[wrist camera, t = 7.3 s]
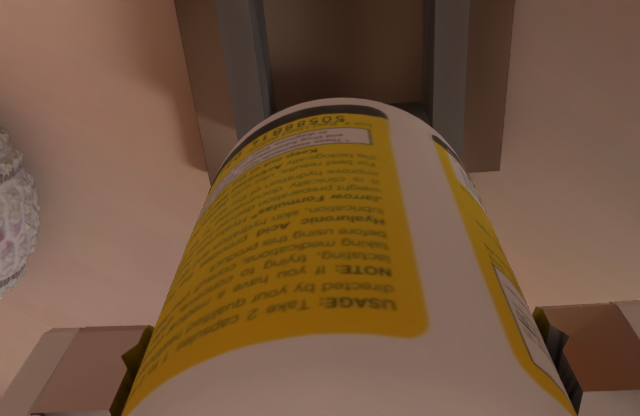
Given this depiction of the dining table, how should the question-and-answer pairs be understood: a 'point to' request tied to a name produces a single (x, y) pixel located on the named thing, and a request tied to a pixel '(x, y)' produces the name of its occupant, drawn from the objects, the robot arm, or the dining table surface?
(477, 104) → the socket holder
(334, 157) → the supplement bottle
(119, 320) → the dining table surface
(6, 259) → the sea urchin shell
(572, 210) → the dining table surface
